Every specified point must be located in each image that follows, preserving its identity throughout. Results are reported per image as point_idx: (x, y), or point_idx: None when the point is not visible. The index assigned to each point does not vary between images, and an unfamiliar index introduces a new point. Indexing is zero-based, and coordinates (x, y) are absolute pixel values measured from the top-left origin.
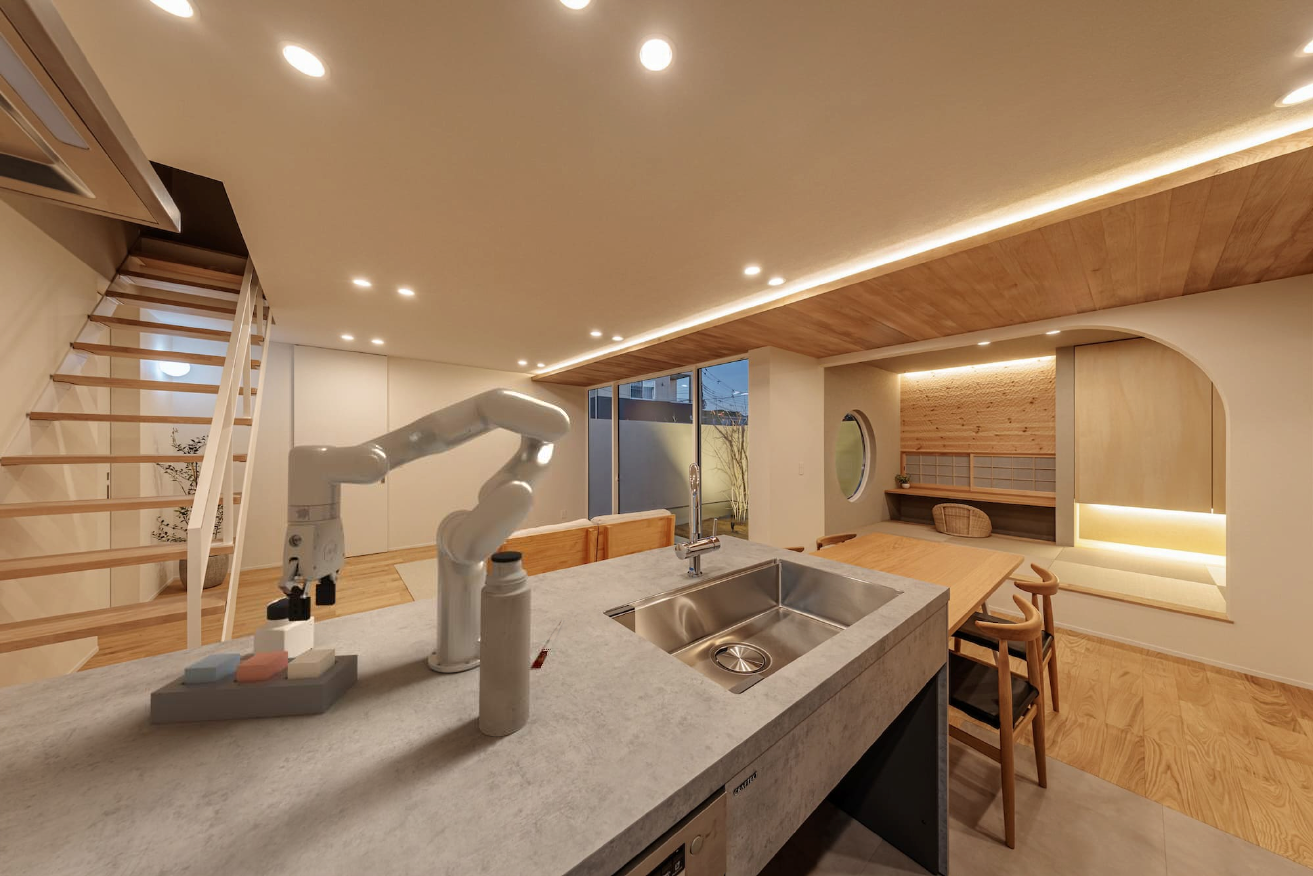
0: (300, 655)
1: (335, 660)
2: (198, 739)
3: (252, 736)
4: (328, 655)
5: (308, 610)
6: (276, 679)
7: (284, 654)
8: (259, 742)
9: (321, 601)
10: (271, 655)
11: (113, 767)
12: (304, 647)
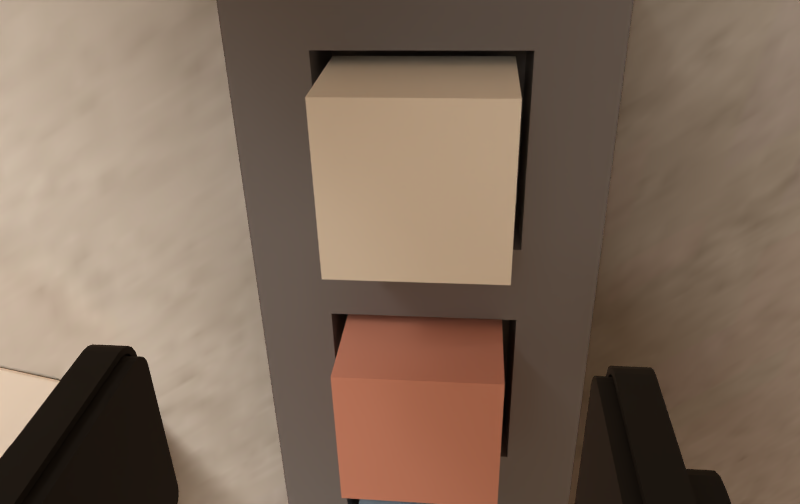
0: (399, 275)
1: (299, 76)
2: (685, 354)
3: (730, 168)
4: (389, 94)
5: (677, 459)
6: (515, 285)
7: (362, 374)
8: (795, 105)
9: (148, 488)
10: (384, 427)
11: (781, 483)
12: (15, 390)
